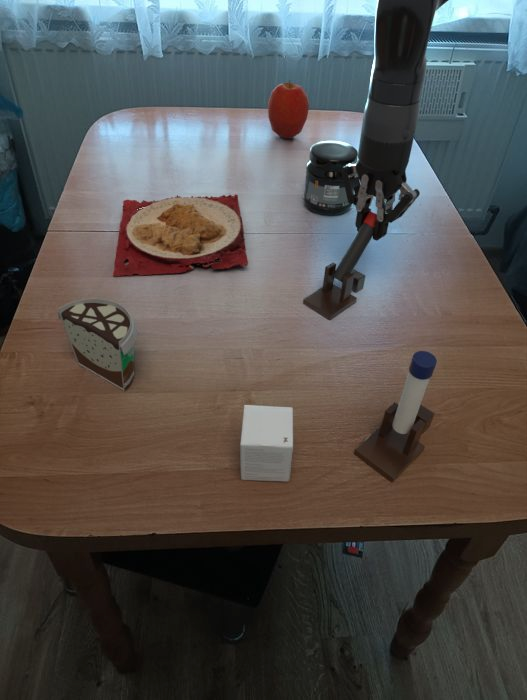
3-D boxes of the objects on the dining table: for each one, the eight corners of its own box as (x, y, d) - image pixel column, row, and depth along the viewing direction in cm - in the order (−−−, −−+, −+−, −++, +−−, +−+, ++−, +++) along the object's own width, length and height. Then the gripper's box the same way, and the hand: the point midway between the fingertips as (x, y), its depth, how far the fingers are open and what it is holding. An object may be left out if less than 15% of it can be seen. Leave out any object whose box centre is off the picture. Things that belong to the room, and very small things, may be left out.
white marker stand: (402, 408, 75) (412, 378, 71) (439, 433, 72) (452, 404, 68) (353, 453, 69) (361, 424, 65) (392, 483, 66) (402, 454, 62)
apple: (266, 143, 137) (268, 85, 127) (267, 127, 144) (269, 71, 135) (306, 145, 137) (312, 87, 127) (305, 129, 144) (310, 73, 135)
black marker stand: (343, 277, 97) (348, 249, 93) (370, 292, 94) (376, 263, 90) (302, 303, 91) (305, 274, 87) (329, 320, 88) (334, 291, 84)
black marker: (372, 214, 89) (367, 209, 87) (385, 220, 88) (380, 215, 86) (335, 278, 91) (329, 275, 89) (347, 285, 90) (341, 282, 88)
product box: (290, 442, 70) (294, 406, 65) (289, 483, 66) (294, 447, 61) (243, 440, 70) (243, 403, 65) (239, 480, 66) (239, 444, 61)
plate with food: (237, 203, 115) (237, 187, 113) (248, 270, 97) (248, 254, 94) (124, 206, 113) (122, 191, 111) (112, 276, 94) (109, 259, 92)
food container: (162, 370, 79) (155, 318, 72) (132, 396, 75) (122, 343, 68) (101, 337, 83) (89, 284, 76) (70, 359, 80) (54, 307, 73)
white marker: (421, 347, 61) (408, 358, 59) (441, 359, 59) (428, 370, 58) (399, 415, 69) (387, 426, 68) (416, 426, 68) (404, 438, 66)
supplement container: (330, 188, 121) (337, 135, 113) (362, 209, 115) (371, 154, 107) (292, 200, 116) (297, 145, 108) (323, 222, 110) (330, 166, 102)
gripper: (445, 137, 75) (418, 242, 87) (365, 109, 82) (350, 210, 94) (414, 153, 72) (391, 261, 84) (333, 122, 79) (322, 226, 91)
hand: (369, 233), depth 89 cm, fingers closed on black marker, 2 cm apart
